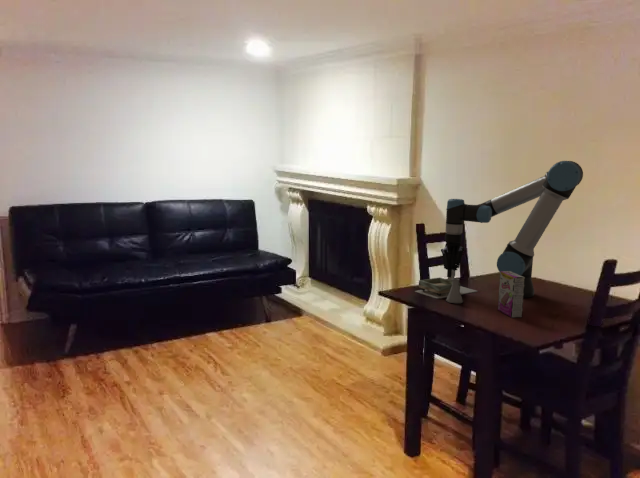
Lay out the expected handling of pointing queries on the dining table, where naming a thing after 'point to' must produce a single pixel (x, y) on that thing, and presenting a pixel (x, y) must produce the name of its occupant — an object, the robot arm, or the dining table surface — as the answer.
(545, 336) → the dining table surface
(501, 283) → the candy bar box
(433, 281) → the square tray
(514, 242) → the robot arm
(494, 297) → the dining table surface
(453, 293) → the flask
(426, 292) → the mat
